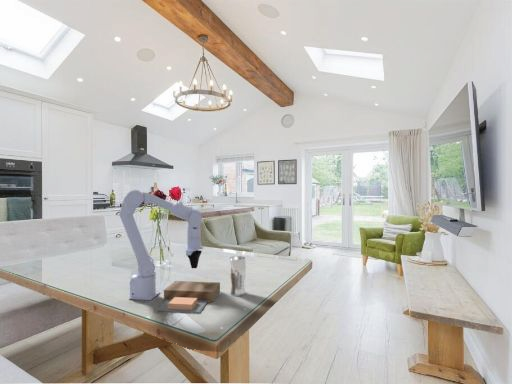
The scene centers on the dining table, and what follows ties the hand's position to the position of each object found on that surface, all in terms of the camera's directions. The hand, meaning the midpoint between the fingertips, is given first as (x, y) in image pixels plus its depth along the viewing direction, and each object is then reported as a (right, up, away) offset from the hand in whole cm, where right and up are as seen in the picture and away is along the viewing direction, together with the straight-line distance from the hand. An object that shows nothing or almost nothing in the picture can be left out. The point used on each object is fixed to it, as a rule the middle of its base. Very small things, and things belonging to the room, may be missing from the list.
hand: (194, 267), depth 122 cm
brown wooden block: (+1, -10, -8) cm, 12 cm away
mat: (0, -10, -18) cm, 20 cm away
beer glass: (+20, -10, -5) cm, 22 cm away
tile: (0, -7, -19) cm, 20 cm away
